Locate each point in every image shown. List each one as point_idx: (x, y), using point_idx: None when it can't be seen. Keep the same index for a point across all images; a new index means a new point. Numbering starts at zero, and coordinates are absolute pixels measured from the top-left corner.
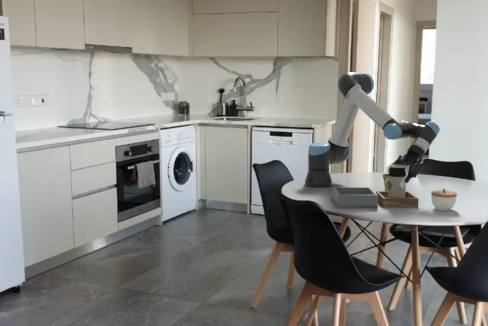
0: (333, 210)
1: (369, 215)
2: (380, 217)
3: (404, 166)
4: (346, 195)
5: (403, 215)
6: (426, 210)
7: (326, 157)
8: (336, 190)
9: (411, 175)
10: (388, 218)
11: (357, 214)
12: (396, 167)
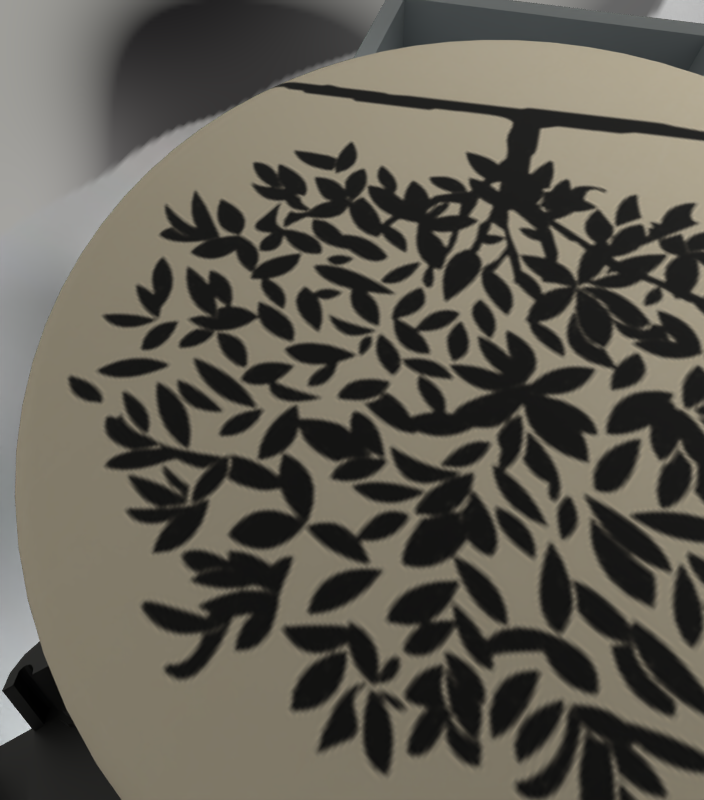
0: (343, 57)
1: (149, 168)
2: (76, 200)
3: (34, 548)
4: (372, 27)
5: (24, 349)
6: (18, 649)
7: None
8: (570, 14)
9: (16, 740)
10: (30, 229)
11: (203, 125)
12: (198, 152)
